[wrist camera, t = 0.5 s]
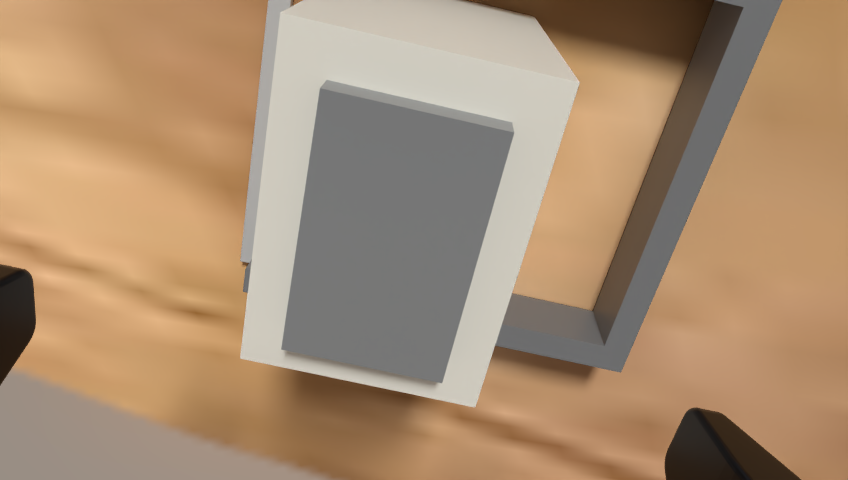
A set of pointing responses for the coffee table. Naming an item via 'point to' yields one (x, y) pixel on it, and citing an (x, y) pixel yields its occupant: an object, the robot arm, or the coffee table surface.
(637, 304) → the grey flat square frame
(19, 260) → the coffee table surface
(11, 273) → the robot arm
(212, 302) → the coffee table surface
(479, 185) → the cream box grey panel
